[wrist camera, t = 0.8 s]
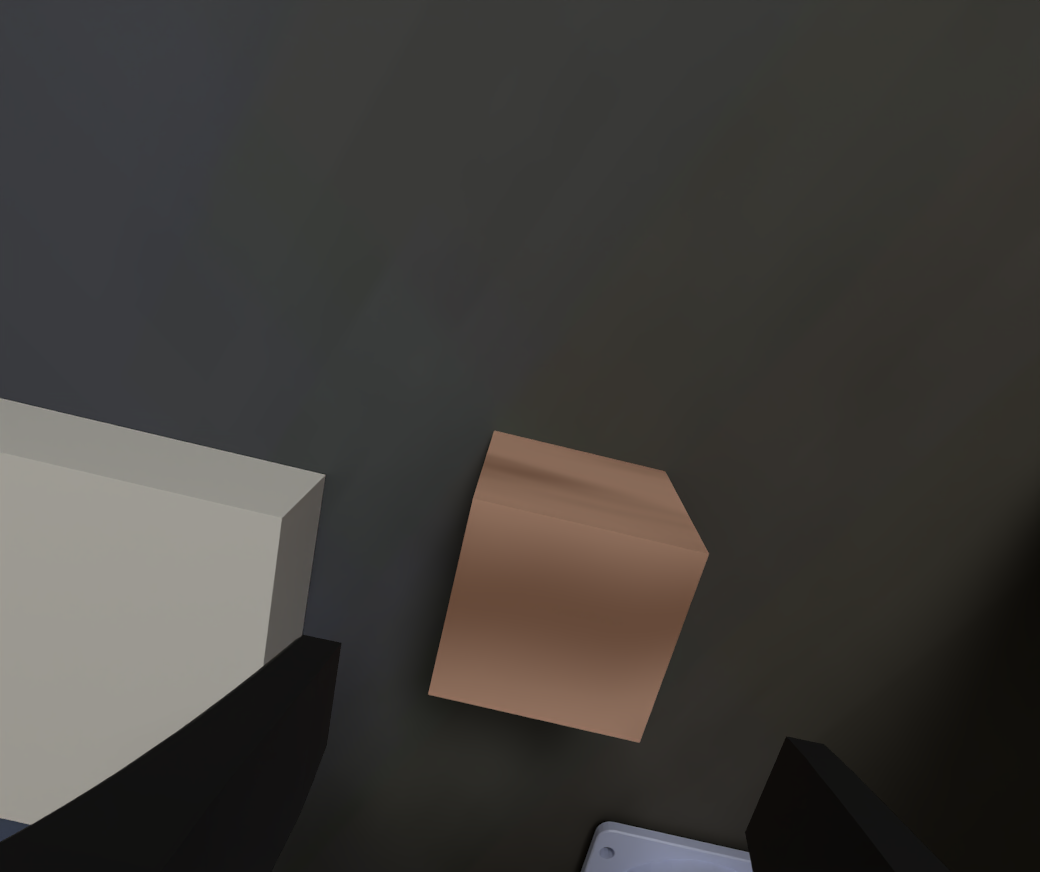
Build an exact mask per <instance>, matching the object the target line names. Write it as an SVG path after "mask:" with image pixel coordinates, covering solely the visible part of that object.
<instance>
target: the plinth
mask: <svg viewBox="0 0 1040 872" xmlns="http://www.w3.org/2000/svg"><path fill="white" fill-rule="evenodd" d="M325 476H326V475H324V474H320V473H315V472H311V471H307V470H303V469H298V468H294V467H290V466H286V465H281V464H277V463H273V462H269V461H265V460H260V459H256V458H252V457H248V456H243V455H239V454H235V453H231V452H226V451H222V450H218V449H214V448H209V447H205V446H201V445H197V444H192V443H188V442H184V441H180V440H175V439H171V438H167V437H163V436H158V435H154V434H150V433H146V432H142V431H137V430H133V429H129V428H125V427H120V426H116V425H112V424H108V423H103V422H99V421H95V420H91V419H86V418H82V417H78V416H74V415H69V414H65V413H61V412H57V411H52V410H48V409H44V408H40V407H35V406H31V405H27V404H23V403H18V402H14V401H10V400H6V399H2V398H0V818H3V819H8V820H12V821H17V822H21V823H26V824H30V825H31V824H33V823H35V822H36V821H38V820H40V819H42V818H43V817H45V816H47V815H48V814H50V813H52V812H53V811H55V810H57V809H58V808H60V807H62V806H64V805H65V804H67V803H69V802H70V801H72V800H73V799H75V798H77V797H78V796H80V795H82V794H83V793H85V792H86V791H88V790H90V789H91V788H93V787H94V786H96V785H98V784H99V783H101V782H102V781H104V780H105V779H107V778H109V777H110V776H112V775H113V774H115V773H116V772H118V771H119V770H121V769H123V768H124V767H125V766H127V765H128V764H130V763H131V762H133V761H134V760H136V759H137V758H139V757H140V756H142V755H143V754H145V753H146V752H147V751H149V750H150V749H152V748H153V747H155V746H156V745H158V744H159V743H161V742H162V741H164V740H165V739H167V738H168V737H170V736H171V735H172V734H174V733H175V732H177V731H178V730H180V729H181V728H182V727H184V726H185V725H187V724H188V723H189V722H191V721H192V720H193V719H195V718H196V717H197V716H199V715H200V714H201V713H203V712H204V711H205V710H207V709H208V708H209V707H211V706H212V705H214V704H215V703H216V702H218V701H219V700H220V699H222V698H223V697H224V696H226V695H227V694H228V693H230V692H231V691H232V690H234V689H235V688H236V687H237V686H239V685H240V684H241V683H242V682H244V681H245V680H246V679H248V678H249V677H250V676H251V675H253V674H254V673H255V672H256V671H258V670H259V669H260V668H261V667H263V666H264V665H265V664H266V663H268V662H269V661H270V660H271V659H272V658H274V657H275V656H276V655H277V654H279V653H280V652H281V651H282V650H283V649H285V648H286V647H287V646H288V645H290V644H291V643H292V642H293V641H294V640H296V639H297V638H299V637H301V636H302V632H303V625H304V618H305V611H306V605H307V598H308V591H309V584H310V578H311V571H312V564H313V557H314V550H315V544H316V537H317V530H318V523H319V517H320V510H321V503H322V496H323V489H324V483H325Z"/></svg>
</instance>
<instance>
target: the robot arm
mask: <svg viewBox="0 0 1040 872" xmlns="http://www.w3.org/2000/svg"><path fill="white" fill-rule="evenodd" d="M340 649H341V643H339V642H334V641H330V640H325V639H320V638H315V637H311V636H306V635H303V636H301V637H299V638H297V639H296V640H294V641H293V642H292V643H291V644H290V645H288V646H287V647H286V648H285V649H283V650H282V651H281V652H280V653H279V654H277V655H276V656H275V657H274V658H272V659H271V660H270V661H269V662H268V663H266V664H265V665H264V666H263V667H261V668H260V669H259V670H258V671H256V672H255V673H254V674H253V675H251V676H250V677H249V678H248V679H246V680H245V681H244V682H242V683H241V684H240V685H239V686H237V687H236V688H235V689H234V690H232V691H231V692H230V693H228V694H227V695H226V696H224V697H223V698H222V699H220V700H219V701H218V702H216V703H215V704H214V705H212V706H211V707H209V708H208V709H207V710H205V711H204V712H203V713H201V714H200V715H199V716H197V717H196V718H195V719H193V720H192V721H191V722H189V723H188V724H187V725H185V726H184V727H182V728H181V729H180V730H178V731H177V732H175V733H174V734H172V735H171V736H170V737H168V738H167V739H165V740H164V741H162V742H161V743H159V744H158V745H156V746H155V747H153V748H152V749H150V750H149V751H147V752H146V753H145V754H143V755H142V756H140V757H139V758H137V759H136V760H134V761H133V762H131V763H130V764H128V765H127V766H125V767H124V768H123V769H121V770H119V771H118V772H116V773H115V774H113V775H112V776H110V777H109V778H107V779H105V780H104V781H102V782H101V783H99V784H98V785H96V786H94V787H93V788H91V789H90V790H88V791H86V792H85V793H83V794H82V795H80V796H78V797H77V798H75V799H73V800H72V801H70V802H69V803H67V804H65V805H64V806H62V807H60V808H58V809H57V810H55V811H53V812H52V813H50V814H48V815H47V816H45V817H43V818H42V819H40V820H38V821H36V822H35V823H33V824H31V825H30V826H28V827H26V828H24V829H23V830H21V831H19V832H17V833H16V834H14V835H12V836H10V837H8V838H6V839H5V840H3V841H1V842H0V872H271V871H272V869H273V867H274V865H275V863H276V861H277V859H278V857H279V855H280V853H281V851H282V849H283V847H284V845H285V843H286V841H287V839H288V837H289V835H290V833H291V831H292V829H293V827H294V825H295V823H296V821H297V819H298V817H299V815H300V813H301V810H302V808H303V805H304V803H305V800H306V797H307V795H308V792H309V790H310V787H311V785H312V782H313V780H314V777H315V774H316V772H317V769H318V767H319V764H320V761H321V759H322V756H323V753H324V751H325V748H326V745H327V739H328V732H329V725H330V718H331V711H332V704H333V697H334V690H335V683H336V676H337V669H338V662H339V656H340ZM745 833H746V839H747V844H748V849H749V852H745V851H741V850H737V849H732V848H728V847H723V846H719V845H714V844H710V843H705V842H701V841H697V840H692V839H688V838H683V837H679V836H674V835H670V834H665V833H661V832H657V831H652V830H648V829H643V828H639V827H634V826H630V825H626V824H621V823H617V822H610V821H608V822H604V823H602V824H600V825H599V826H598V827H597V829H596V830H595V833H594V836H593V839H592V842H591V844H590V847H589V850H588V853H587V855H586V858H585V861H584V864H583V867H582V869H581V872H951V871H950V870H949V869H948V868H947V867H946V866H945V865H944V864H943V863H942V862H941V861H940V860H939V859H938V858H937V857H936V856H935V855H934V854H933V853H932V852H931V851H930V850H929V849H928V848H927V847H926V846H925V845H924V844H923V843H922V842H921V841H920V840H919V839H918V838H917V837H916V836H915V835H914V834H913V833H912V831H911V830H910V829H909V828H908V827H907V826H906V825H905V824H904V823H903V822H902V821H901V820H900V819H899V818H898V817H897V816H896V815H895V814H894V813H893V812H892V811H891V810H890V809H889V808H888V807H887V806H886V805H885V804H884V803H883V802H882V801H881V800H880V799H879V798H878V797H877V796H876V795H875V794H874V793H873V792H872V791H871V790H870V789H869V788H868V787H867V786H866V785H865V784H864V783H863V782H862V781H861V779H860V778H859V777H858V776H857V775H856V774H855V773H854V772H853V771H852V770H850V769H849V768H848V767H847V766H846V765H845V764H844V763H843V762H842V761H841V760H840V759H839V758H838V757H837V756H836V755H835V754H834V753H833V752H832V751H831V750H829V749H828V748H827V747H826V746H825V745H824V744H820V743H815V742H810V741H806V740H801V739H796V738H791V737H787V736H786V739H785V741H784V743H783V746H782V748H781V750H780V753H779V755H778V757H777V760H776V762H775V764H774V767H773V769H772V771H771V774H770V776H769V778H768V781H767V783H766V785H765V788H764V790H763V792H762V795H761V797H760V799H759V802H758V804H757V806H756V809H755V811H754V813H753V816H752V818H751V820H750V823H749V825H748V827H747V830H746V832H745ZM604 847H609V848H604Z"/></svg>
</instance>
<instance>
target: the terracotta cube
mask: <svg viewBox="0 0 1040 872" xmlns="http://www.w3.org/2000/svg"><path fill="white" fill-rule="evenodd" d="M708 555H709V553H708V551H707V549H706V547H705V546H704V544H703V542H702V540H701V538H700V536H699V534H698V532H697V530H696V529H695V527H694V525H693V523H692V521H691V519H690V517H689V515H688V514H687V512H686V510H685V508H684V506H683V504H682V502H681V500H680V498H679V497H678V495H677V493H676V491H675V489H674V487H673V485H672V483H671V481H670V480H669V478H668V476H667V474H666V472H665V471H661V470H657V469H653V468H649V467H644V466H640V465H636V464H632V463H628V462H623V461H619V460H615V459H611V458H607V457H603V456H598V455H594V454H590V453H586V452H582V451H577V450H573V449H569V448H565V447H561V446H557V445H552V444H548V443H544V442H540V441H536V440H531V439H527V438H523V437H519V436H515V435H511V434H506V433H502V432H498V431H494V433H493V436H492V439H491V442H490V445H489V449H488V452H487V455H486V458H485V461H484V465H483V468H482V471H481V474H480V477H479V481H478V484H477V487H476V490H475V493H474V497H473V500H472V505H471V509H470V514H469V518H468V522H467V527H466V531H465V535H464V540H463V544H462V548H461V553H460V557H459V562H458V566H457V570H456V575H455V579H454V583H453V588H452V592H451V596H450V601H449V605H448V610H447V614H446V618H445V623H444V627H443V631H442V636H441V640H440V644H439V649H438V653H437V658H436V662H435V666H434V671H433V675H432V679H431V684H430V688H429V692H428V695H432V696H437V697H441V698H446V699H450V700H454V701H459V702H463V703H467V704H472V705H476V706H481V707H485V708H489V709H494V710H498V711H503V712H507V713H511V714H516V715H520V716H525V717H529V718H533V719H538V720H542V721H546V722H551V723H555V724H560V725H564V726H568V727H573V728H577V729H582V730H586V731H590V732H595V733H599V734H603V735H608V736H612V737H617V738H621V739H625V740H630V741H634V742H639V743H640V740H641V737H642V735H643V732H644V729H645V726H646V724H647V721H648V718H649V716H650V713H651V710H652V707H653V705H654V702H655V699H656V696H657V694H658V691H659V688H660V686H661V683H662V680H663V677H664V675H665V672H666V669H667V667H668V664H669V661H670V658H671V656H672V653H673V650H674V648H675V645H676V642H677V639H678V637H679V634H680V631H681V629H682V626H683V623H684V620H685V618H686V615H687V612H688V610H689V607H690V604H691V601H692V599H693V596H694V593H695V590H696V588H697V585H698V582H699V580H700V577H701V574H702V571H703V569H704V566H705V563H706V561H707V558H708Z"/></svg>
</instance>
